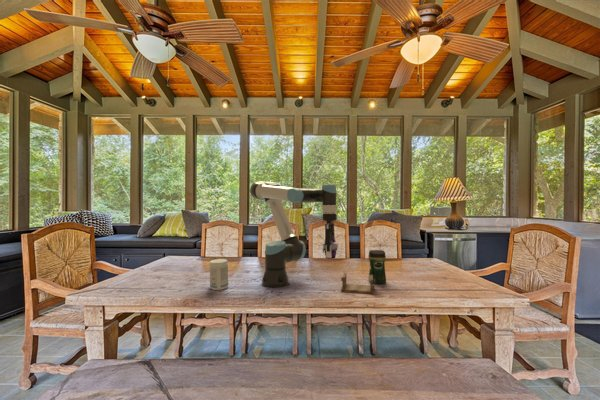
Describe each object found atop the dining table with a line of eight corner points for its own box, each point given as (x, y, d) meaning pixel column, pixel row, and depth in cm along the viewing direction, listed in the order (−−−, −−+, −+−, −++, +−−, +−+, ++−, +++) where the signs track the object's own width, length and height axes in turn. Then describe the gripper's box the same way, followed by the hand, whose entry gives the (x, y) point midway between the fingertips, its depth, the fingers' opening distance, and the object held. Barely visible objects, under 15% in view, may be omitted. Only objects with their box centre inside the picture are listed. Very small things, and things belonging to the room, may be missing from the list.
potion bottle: (319, 256, 149) (319, 234, 149) (333, 255, 152) (333, 233, 152) (326, 259, 141) (326, 236, 141) (341, 258, 144) (341, 235, 144)
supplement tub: (227, 284, 156) (227, 258, 156) (229, 289, 147) (229, 261, 147) (209, 286, 153) (209, 259, 153) (210, 291, 144) (209, 263, 144)
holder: (340, 291, 144) (340, 277, 144) (342, 285, 154) (342, 272, 154) (375, 294, 140) (375, 280, 140) (374, 288, 149) (374, 274, 149)
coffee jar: (383, 280, 163) (384, 249, 163) (387, 284, 155) (387, 251, 155) (367, 280, 164) (367, 248, 164) (369, 284, 156) (369, 251, 156)
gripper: (333, 214, 136) (334, 260, 135) (339, 212, 156) (340, 252, 156) (318, 214, 138) (319, 259, 137) (326, 212, 158) (327, 252, 158)
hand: (330, 255), depth 147 cm, fingers closed on potion bottle, 8 cm apart
